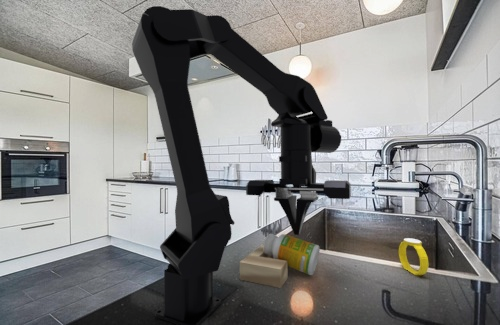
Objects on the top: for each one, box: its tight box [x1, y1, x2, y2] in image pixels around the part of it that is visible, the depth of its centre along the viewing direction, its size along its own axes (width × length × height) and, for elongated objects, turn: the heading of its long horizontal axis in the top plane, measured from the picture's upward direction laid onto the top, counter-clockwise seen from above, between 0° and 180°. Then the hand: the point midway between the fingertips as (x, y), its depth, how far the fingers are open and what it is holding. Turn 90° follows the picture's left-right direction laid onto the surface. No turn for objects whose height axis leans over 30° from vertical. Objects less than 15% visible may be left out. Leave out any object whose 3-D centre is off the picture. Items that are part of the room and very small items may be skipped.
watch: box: [398, 237, 430, 276], centre depth 44 cm, size 6×3×6 cm, turn 3°
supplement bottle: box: [263, 233, 320, 276], centre depth 45 cm, size 5×5×10 cm
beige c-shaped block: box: [239, 243, 288, 289], centre depth 47 cm, size 14×8×3 cm, turn 155°
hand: (297, 234), depth 45 cm, fingers closed
